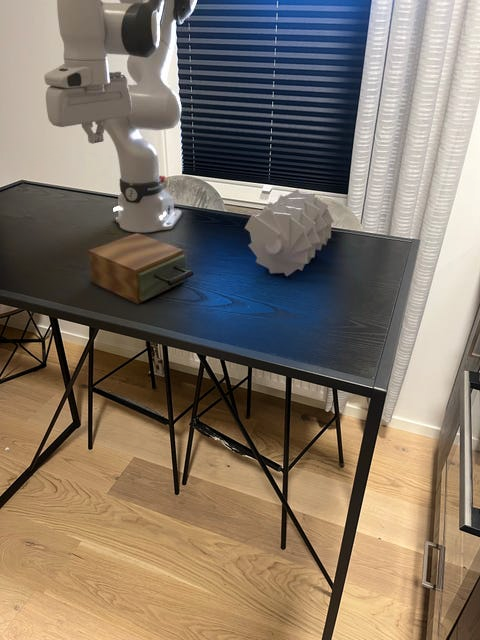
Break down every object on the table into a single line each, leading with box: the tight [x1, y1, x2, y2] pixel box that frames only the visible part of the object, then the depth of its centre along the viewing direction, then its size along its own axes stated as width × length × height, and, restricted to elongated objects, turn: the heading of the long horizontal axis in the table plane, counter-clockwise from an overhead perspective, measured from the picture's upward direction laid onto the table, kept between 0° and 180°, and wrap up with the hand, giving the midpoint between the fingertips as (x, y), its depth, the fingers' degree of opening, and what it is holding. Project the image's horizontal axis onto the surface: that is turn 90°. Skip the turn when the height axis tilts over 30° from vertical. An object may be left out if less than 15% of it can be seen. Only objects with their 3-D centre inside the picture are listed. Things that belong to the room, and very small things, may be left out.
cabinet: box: [88, 232, 185, 305], centre depth 116 cm, size 16×15×8 cm
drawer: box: [138, 254, 195, 302], centre depth 114 cm, size 20×14×6 cm
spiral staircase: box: [244, 188, 335, 277], centre depth 126 cm, size 18×18×25 cm
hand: (96, 142), depth 111 cm, fingers closed
